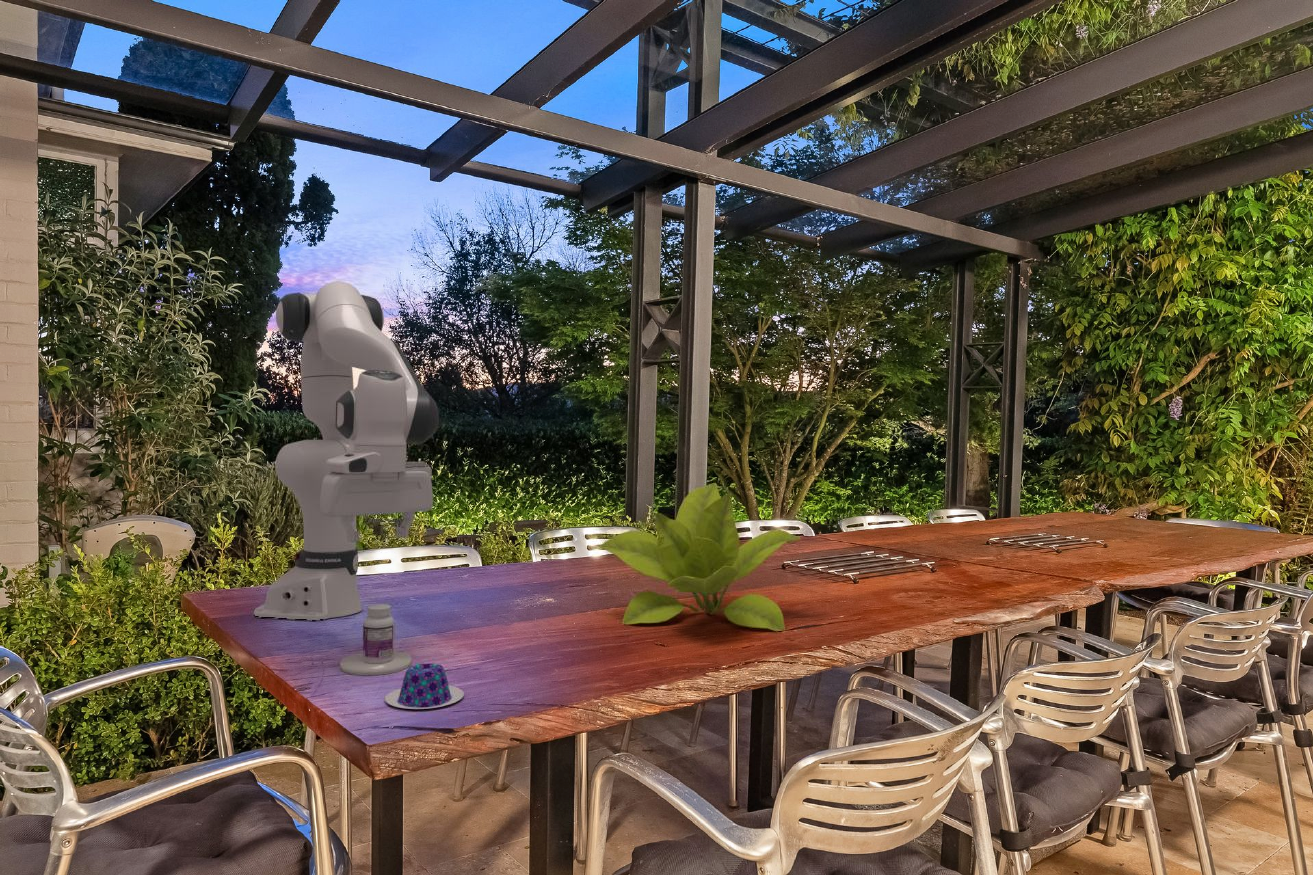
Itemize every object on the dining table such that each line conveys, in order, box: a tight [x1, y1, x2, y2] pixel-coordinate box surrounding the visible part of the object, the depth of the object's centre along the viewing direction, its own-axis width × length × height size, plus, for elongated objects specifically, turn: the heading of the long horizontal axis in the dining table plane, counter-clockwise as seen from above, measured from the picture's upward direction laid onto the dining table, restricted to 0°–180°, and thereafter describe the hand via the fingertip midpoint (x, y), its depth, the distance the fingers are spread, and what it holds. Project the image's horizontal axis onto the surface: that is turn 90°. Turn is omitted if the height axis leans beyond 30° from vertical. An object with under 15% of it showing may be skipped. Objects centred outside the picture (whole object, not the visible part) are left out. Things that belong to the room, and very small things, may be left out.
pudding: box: [384, 662, 465, 710], centre depth 132 cm, size 12×12×5 cm
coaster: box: [339, 650, 412, 676], centre depth 150 cm, size 12×12×1 cm
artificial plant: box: [600, 482, 801, 632], centre depth 190 cm, size 42×43×30 cm
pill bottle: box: [362, 603, 395, 664], centre depth 149 cm, size 5×5×10 cm
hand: (378, 539), depth 149 cm, fingers open, 8 cm apart
